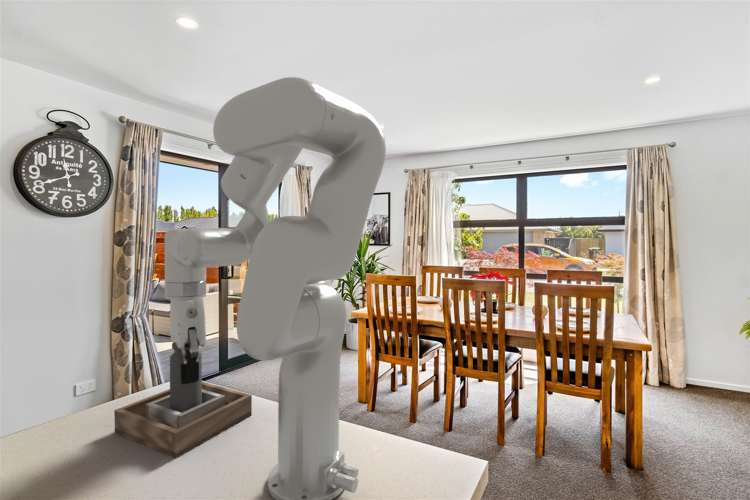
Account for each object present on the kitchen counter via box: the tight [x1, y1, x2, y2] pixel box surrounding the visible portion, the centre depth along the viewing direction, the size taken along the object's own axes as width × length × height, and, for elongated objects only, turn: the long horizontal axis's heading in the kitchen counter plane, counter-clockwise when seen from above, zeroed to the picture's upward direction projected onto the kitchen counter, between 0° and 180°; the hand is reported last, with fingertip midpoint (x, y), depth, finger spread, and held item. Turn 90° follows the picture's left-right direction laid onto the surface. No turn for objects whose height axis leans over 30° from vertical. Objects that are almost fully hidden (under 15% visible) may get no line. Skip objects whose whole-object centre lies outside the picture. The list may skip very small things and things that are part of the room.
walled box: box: [114, 381, 253, 459], centre depth 79 cm, size 18×18×5 cm
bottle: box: [169, 335, 203, 412], centre depth 79 cm, size 6×6×15 cm
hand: (186, 376), depth 79 cm, fingers closed on bottle, 5 cm apart
